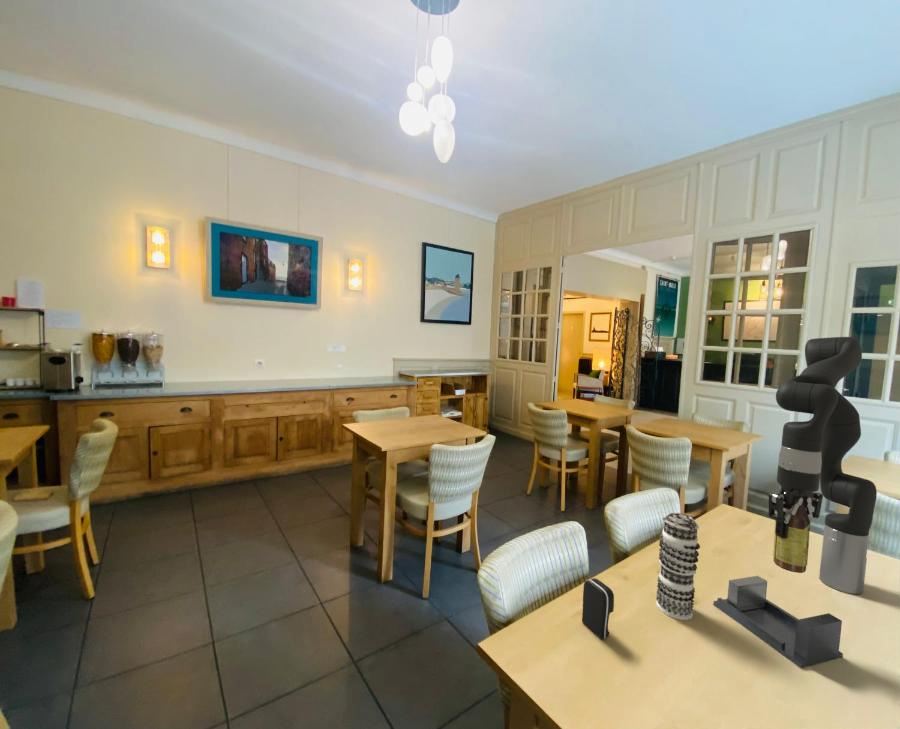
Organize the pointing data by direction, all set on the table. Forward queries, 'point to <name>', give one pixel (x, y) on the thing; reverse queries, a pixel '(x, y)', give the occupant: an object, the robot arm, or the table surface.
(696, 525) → the decorative candle
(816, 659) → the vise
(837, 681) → the table surface
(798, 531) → the sauce bottle
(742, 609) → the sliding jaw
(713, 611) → the table surface
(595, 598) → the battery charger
